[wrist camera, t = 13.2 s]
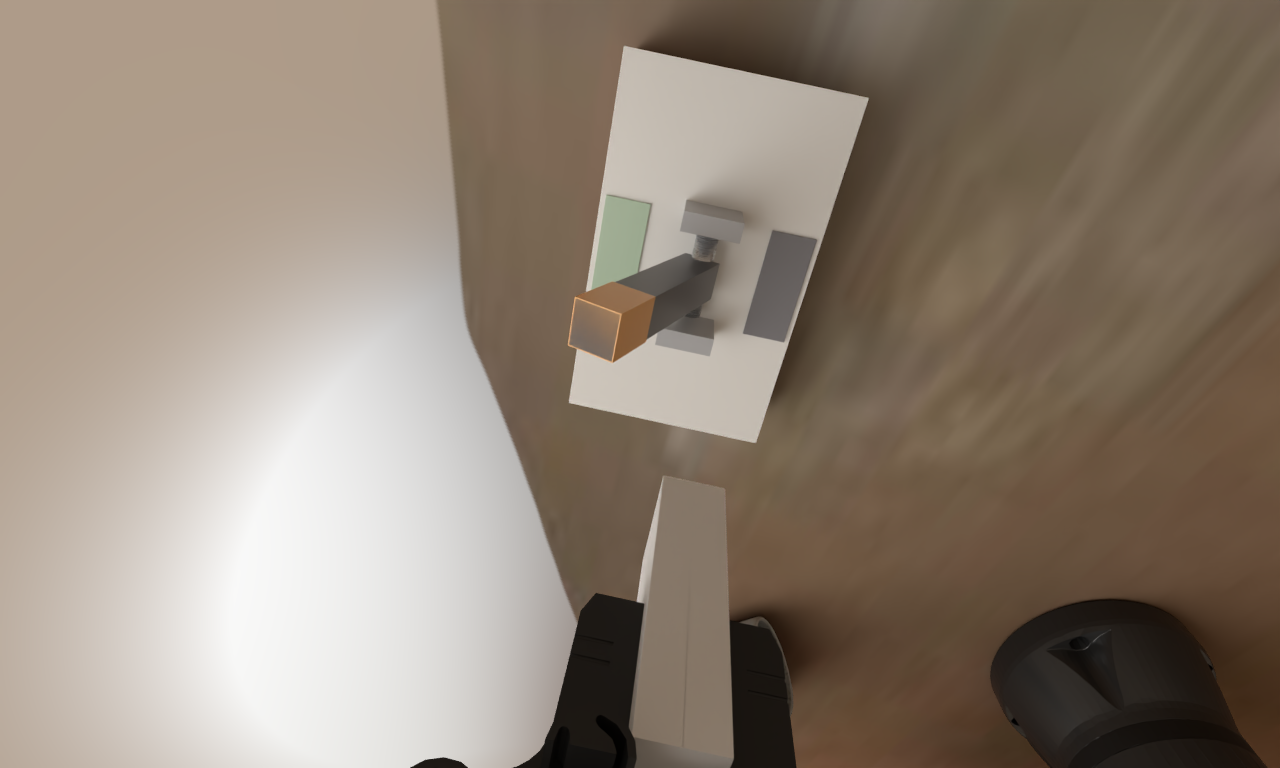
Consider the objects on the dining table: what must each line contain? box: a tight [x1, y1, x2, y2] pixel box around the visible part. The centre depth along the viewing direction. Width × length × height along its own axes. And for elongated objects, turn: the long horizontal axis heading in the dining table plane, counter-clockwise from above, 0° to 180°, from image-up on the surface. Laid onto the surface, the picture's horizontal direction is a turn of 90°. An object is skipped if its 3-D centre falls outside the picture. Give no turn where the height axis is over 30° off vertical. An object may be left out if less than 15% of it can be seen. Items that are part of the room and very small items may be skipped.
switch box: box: [569, 46, 869, 443], centre depth 35 cm, size 20×12×8 cm, turn 169°
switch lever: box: [568, 235, 720, 363], centre depth 29 cm, size 4×2×12 cm, turn 169°
